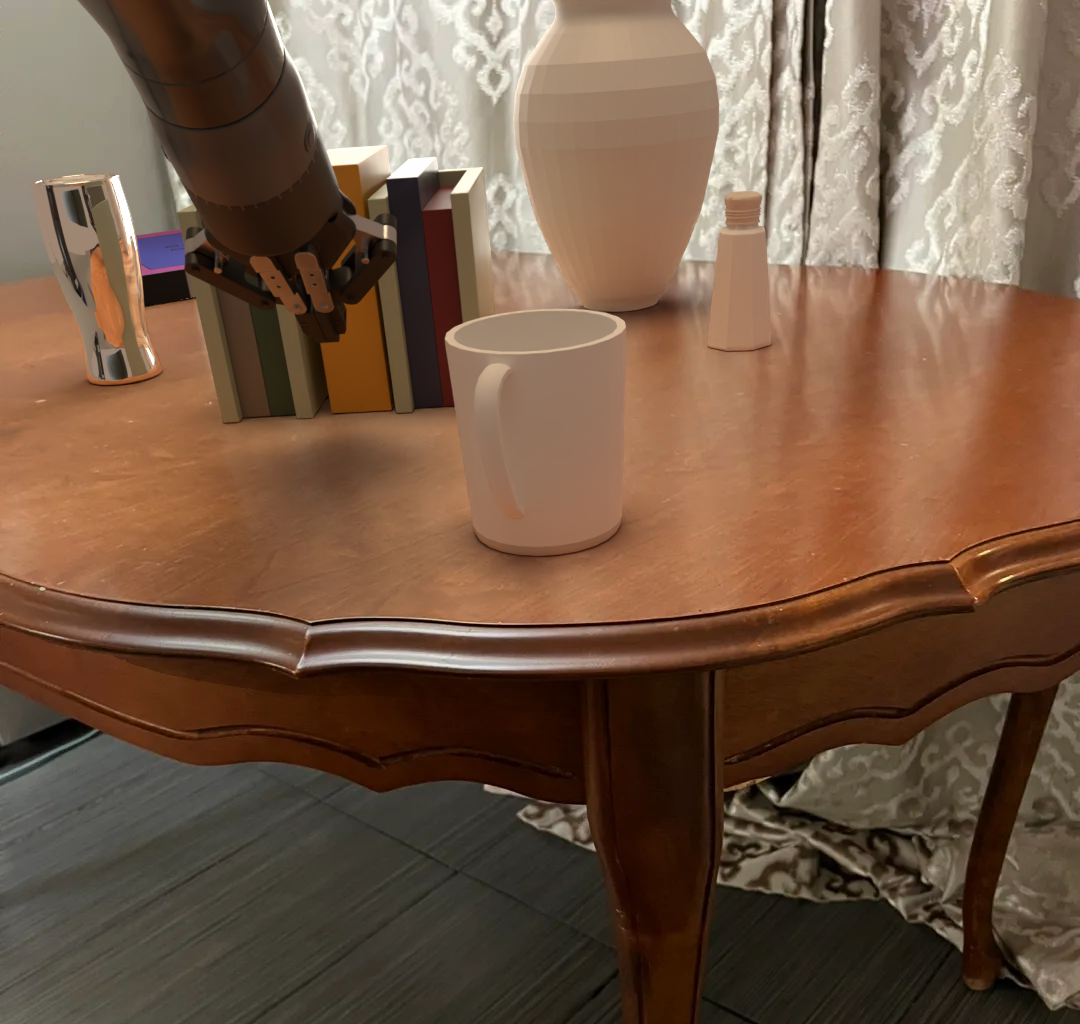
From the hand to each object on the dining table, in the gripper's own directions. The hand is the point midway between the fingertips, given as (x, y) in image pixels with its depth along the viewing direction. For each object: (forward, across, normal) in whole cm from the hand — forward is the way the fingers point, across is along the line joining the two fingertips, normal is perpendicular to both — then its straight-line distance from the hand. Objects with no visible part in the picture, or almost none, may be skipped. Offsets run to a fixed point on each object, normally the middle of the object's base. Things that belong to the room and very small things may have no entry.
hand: (328, 330), depth 73 cm
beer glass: (+18, +22, -9) cm, 30 cm away
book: (+51, +29, -41) cm, 72 cm away
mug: (-8, -14, +18) cm, 25 cm away
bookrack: (+13, 0, -3) cm, 13 cm away
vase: (+30, -20, -20) cm, 41 cm away
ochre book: (+12, 0, -3) cm, 13 cm away
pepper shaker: (+18, -29, -8) cm, 35 cm away
